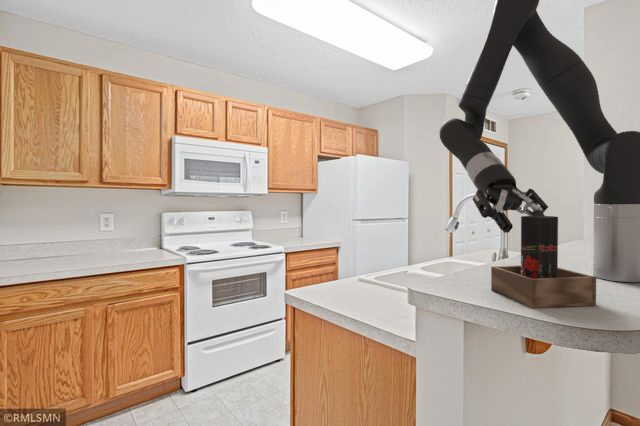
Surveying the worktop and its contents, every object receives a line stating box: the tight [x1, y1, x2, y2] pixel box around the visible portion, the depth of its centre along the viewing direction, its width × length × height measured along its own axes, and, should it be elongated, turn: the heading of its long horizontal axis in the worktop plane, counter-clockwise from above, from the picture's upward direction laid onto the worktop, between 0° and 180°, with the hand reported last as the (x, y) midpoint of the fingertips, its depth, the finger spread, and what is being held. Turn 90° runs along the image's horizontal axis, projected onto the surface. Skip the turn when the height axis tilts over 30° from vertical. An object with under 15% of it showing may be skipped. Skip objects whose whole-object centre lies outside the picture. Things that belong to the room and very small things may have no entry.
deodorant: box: [520, 215, 559, 279], centre depth 66 cm, size 6×6×15 cm
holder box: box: [490, 264, 597, 309], centre depth 66 cm, size 12×12×5 cm
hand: (528, 229), depth 68 cm, fingers open, 8 cm apart
